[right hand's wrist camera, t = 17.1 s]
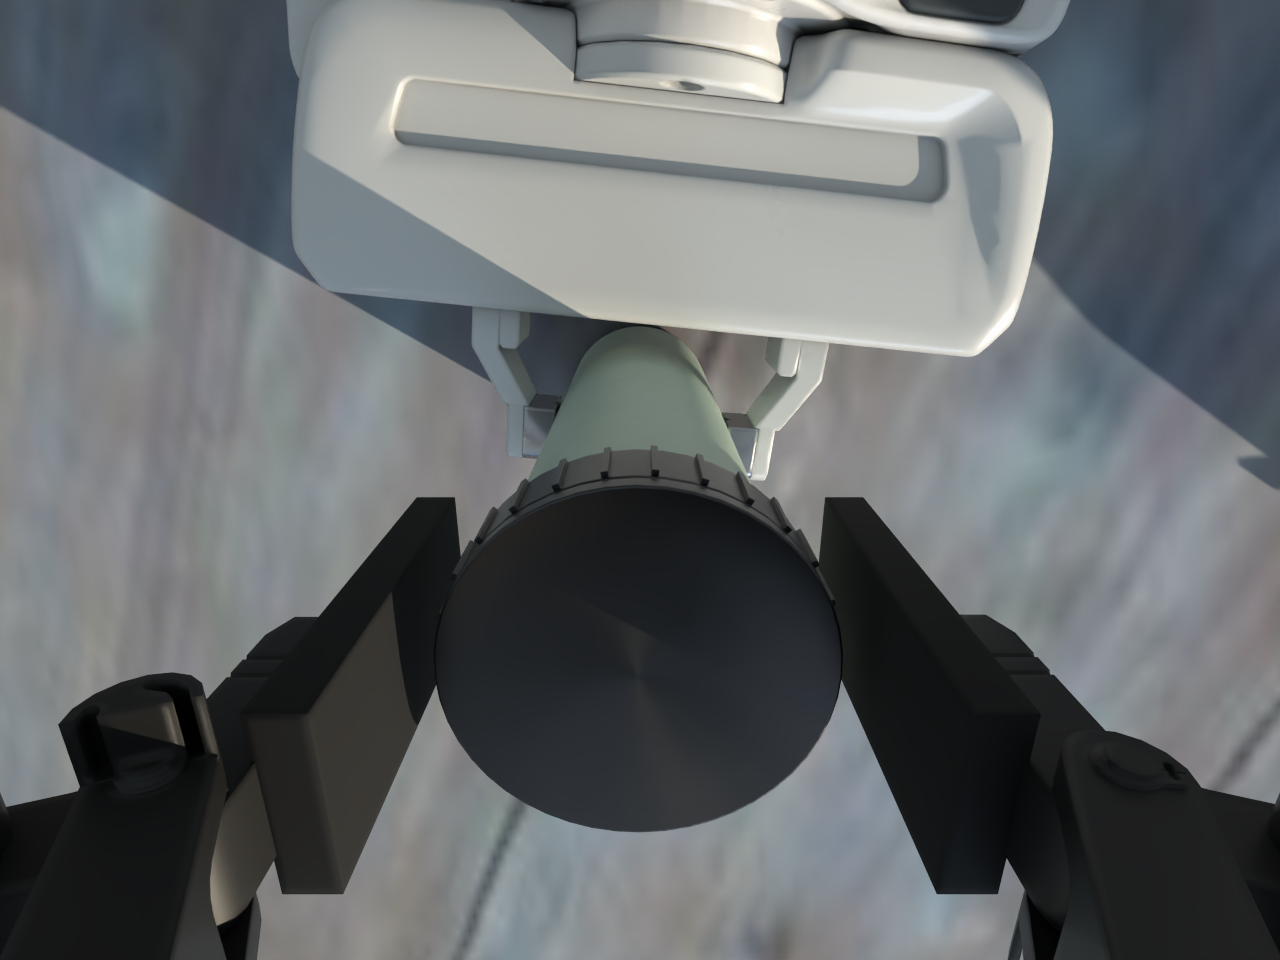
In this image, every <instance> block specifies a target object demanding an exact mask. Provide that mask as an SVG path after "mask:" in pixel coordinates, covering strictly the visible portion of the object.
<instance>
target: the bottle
mask: <svg viewBox="0 0 1280 960" xmlns="http://www.w3.org/2000/svg"><path fill="white" fill-rule="evenodd" d="M651 445H653V446H658V450H661V451H667V452H673V453H678V454H684V455H688V456H692V457H695V456H696V454H697V453H698V454H701V455H703V458H704V461H707V462H711V463H713V464H715V465H717V466H719V467H722V468H724V469H726V470H728V471H730V472H732V473H734V474H737V472H738V471H740V472H742V473H743V474H744V475H745V478H746V480H747V482H748V483H750V484H751V482H750V480H749V477H748V475H747V473H746V470H745V468H744V466H743V463H742V461H741V459H740V456H739V454H738V452H737V449H736V447H735V445H734V442H733V440H732V438H731V435H730V433H729V431H728V428H727V426H726V424H725V421H724V419H723V417H722V415H721V412H720V410H719V408H718V405H717V403H716V401H715V398H714V396H713V394H712V391H711V389H710V387H709V384H708V382H707V380H706V377H705V375H704V373H703V370H702V368H701V366H700V364H699V362H698V360H697V358H696V357H695V355H694V354H693V352H692V351H691V350H690V349H689V348H688V347H687V346H686V345H685V344H684V343H683V342H682V341H681V340H679V339H678V338H677V337H675V336H673V335H672V334H670V333H667V332H665V331H663V330H660V329H656V328H652V327H645V326H635V327H627V328H623V329H619V330H616V331H614V332H611V333H609V334H607V335H606V336H604V337H602V338H601V339H600V340H598V341H597V342H596V343H595V344H594V345H593V346H592V347H591V348H590V349H589V350H588V351H587V352H586V354H585V355H584V356H583V358H582V360H581V362H580V363H579V366H578V368H577V370H576V372H575V375H574V377H573V379H572V382H571V384H570V386H569V388H568V391H567V393H566V395H565V397H564V400H563V402H562V404H561V407H560V409H559V411H558V413H557V416H556V418H555V420H554V422H553V425H552V427H551V429H550V432H549V434H548V436H547V438H546V441H545V443H544V445H543V447H542V450H541V452H540V454H539V457H538V459H537V461H536V463H535V466H534V468H533V470H532V472H531V475H530V477H529V479H528V482H530V481H532V480H533V479H535V478H536V477H538V476H539V475H541V474H543V473H545V472H547V471H549V470H551V469H553V468H555V467H557V466H558V465H559V462H560V460H562V459H564V458H566V459H567V461H568V462H570V461H573V460H576V459H579V458H582V457H585V456H589V455H594V454H599V453H603V452H604V448H606V447H611V451H618V450H632V449H642V450H650V448H651Z"/></svg>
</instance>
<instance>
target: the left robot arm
mask: <svg viewBox="0 0 1280 960" xmlns="http://www.w3.org/2000/svg"><path fill="white" fill-rule="evenodd" d="M286 2H287V19H288V36H289V49H290V55H291V59H292V63H293V66H294V69H295V72H296V75H297V77H298V79H299V86H298V94H297V104H296V115H295V126H294V139H293V156H292V183H291V226H292V241H293V247H294V250H295V252H296V254H297V256H298V258H299V259H300V260H301V262H302V263H303V264H304V266H305V267H306V268H307V270H308V271H309V272H310V274H311V275H312V276H313V278H314V279H315V280H316V281H317V283H318V284H319V285H320V286H321V287H322V288H323V289H325V290H327V291H331V292H338V293H348V294H357V295H367V296H377V297H387V298H396V299H406V300H416V301H426V302H435V303H445V304H455V305H465V306H472V347H473V349H474V351H475V353H476V354H477V356H478V358H479V360H480V362H481V364H482V365H483V367H484V369H485V371H486V373H487V374H488V376H489V378H490V380H491V382H492V384H493V385H494V387H495V389H496V391H497V393H498V394H499V396H500V398H501V400H502V402H503V404H508V412H507V442H506V451H507V456H510V457H517V458H534V459H538V457H539V454H540V452H541V450H542V447H543V445H544V443H545V441H546V438H547V436H548V434H549V432H550V429H551V427H552V425H553V422H554V420H555V418H556V416H557V413H558V411H559V409H560V407H561V396H553V395H544V394H536V393H537V391H536V389H535V387H534V385H533V383H532V381H531V379H530V377H529V375H528V373H527V371H526V369H525V367H524V364H523V362H522V360H521V358H520V356H519V354H518V352H517V350H516V348H517V347H518V346H519V345H520V344H521V343H522V342H523V341H524V340H525V339H526V338H527V337H528V336H529V333H530V315H531V312H533V313H543V314H552V315H562V316H572V317H582V318H592V319H601V320H611V321H621V322H631V323H640V324H650V325H660V326H670V327H679V328H689V329H699V330H709V331H718V332H728V333H738V334H748V335H757V336H767V337H768V343H767V350H766V356H765V360H766V361H767V363H768V364H769V365H770V366H771V367H772V368H773V369H774V370H775V371H776V372H777V373H776V374H775V376H774V377H773V378H772V380H771V381H770V382H769V384H768V385H767V386H766V387H765V389H764V390H763V391H762V393H761V394H760V395H759V397H758V398H757V399H756V401H755V402H754V403H753V405H752V406H751V407H750V408H749V410H748V411H747V412H746V413H747V414H737V413H723V412H722V417H723V419H724V421H725V424H726V426H727V428H728V431H729V433H730V435H731V438H732V440H733V442H734V445H735V447H736V449H737V452H738V454H739V456H740V459H741V461H742V463H743V466H744V468H745V470H746V473H747V475H748V477H749V480H760V481H764V480H765V479H766V476H767V473H768V468H769V462H770V456H771V451H772V445H773V439H774V434H775V431H779V430H780V429H781V428H782V427H783V426H784V424H785V423H786V422H787V421H788V420H789V419H790V417H791V416H792V415H793V414H794V413H795V412H796V410H797V409H798V408H799V407H800V406H801V405H802V403H803V402H804V401H805V400H806V399H807V398H808V396H809V395H810V394H811V393H812V392H813V391H814V389H815V388H816V387H817V386H818V385H819V384H820V382H821V381H822V376H823V371H824V366H825V361H826V356H827V351H828V346H829V343H836V344H845V345H855V346H865V347H875V348H884V349H894V350H904V351H914V352H923V353H933V354H943V355H953V356H963V357H971V356H975V355H977V354H979V353H980V352H981V351H983V350H984V349H985V348H986V347H988V346H989V345H990V344H991V343H992V342H993V341H994V340H995V339H996V338H997V337H998V336H1000V335H1001V334H1002V333H1003V332H1004V331H1005V330H1006V329H1007V328H1008V327H1009V326H1010V324H1011V323H1012V321H1013V319H1014V317H1015V315H1016V312H1017V310H1018V307H1019V304H1020V301H1021V298H1022V294H1023V291H1024V287H1025V284H1026V280H1027V276H1028V272H1029V268H1030V264H1031V260H1032V256H1033V252H1034V248H1035V243H1036V239H1037V234H1038V230H1039V224H1040V219H1041V214H1042V209H1043V204H1044V198H1045V192H1046V186H1047V180H1048V174H1049V167H1050V160H1051V153H1052V141H1053V119H1052V111H1051V105H1050V100H1049V97H1048V94H1047V91H1046V89H1045V87H1044V85H1043V83H1042V81H1041V79H1040V78H1039V77H1038V75H1037V74H1036V73H1035V71H1034V70H1033V69H1032V68H1031V67H1030V66H1028V65H1027V64H1026V63H1025V62H1023V61H1022V60H1020V59H1018V58H1017V57H1018V56H1019V55H1021V54H1023V53H1025V52H1027V51H1028V50H1030V49H1031V48H1033V47H1035V46H1036V45H1038V44H1039V43H1041V42H1042V41H1044V40H1045V39H1047V38H1048V37H1050V36H1051V35H1052V34H1053V33H1054V32H1055V31H1056V30H1057V28H1058V27H1059V25H1060V23H1061V22H1062V20H1063V18H1064V16H1065V14H1066V11H1067V8H1068V5H1069V3H1070V0H286Z"/></svg>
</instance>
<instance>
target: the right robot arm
mask: <svg viewBox="0 0 1280 960" xmlns="http://www.w3.org/2000/svg"><path fill="white" fill-rule="evenodd" d="M460 558H461V556H460V545H459V535H458V525H457V515H456V505H455V497H417V498H416V499H415V500H414V502H413V503H412V504H411V505H410V506H409V508H408V509H407V510H406V511H405V512H404V514H403V515H402V516H401V517H400V519H399V520H398V521H397V522H396V523H395V525H394V526H393V527H392V528H391V530H390V531H389V532H388V533H387V534H386V536H385V537H384V538H383V539H382V540H381V542H380V543H379V544H378V545H377V547H376V548H375V549H374V550H373V551H372V553H371V554H370V555H369V556H368V558H367V559H366V560H365V561H364V562H363V564H362V565H361V566H360V567H359V568H358V570H357V571H356V572H355V573H354V575H353V576H352V577H351V578H350V579H349V581H348V582H347V583H346V584H345V586H344V587H343V588H342V589H341V590H340V592H339V593H338V594H337V595H336V597H335V598H334V599H333V600H332V601H331V603H330V604H329V605H328V606H327V607H326V609H325V610H324V611H323V612H322V614H321V615H320V616H319V617H294V618H292V619H291V620H289V621H287V622H286V623H284V624H283V625H281V626H279V627H278V628H276V629H274V630H273V631H271V632H269V633H268V634H266V635H265V636H264V637H263V638H262V639H261V640H260V642H259V643H258V644H257V645H256V646H255V647H254V648H253V649H252V650H251V651H250V652H249V654H248V655H247V659H246V660H242V661H241V662H240V663H239V665H238V666H237V667H236V668H235V669H234V670H233V671H232V672H231V677H227V678H226V679H225V680H224V681H223V682H222V683H221V684H220V685H219V686H218V687H217V689H216V690H215V691H214V692H213V693H212V694H211V695H210V696H209V697H208V698H207V699H206V697H205V693H204V689H203V685H202V683H201V682H200V681H198V680H197V679H196V678H194V677H193V676H191V675H186V674H179V673H162V674H152V675H146V676H142V677H139V678H135V679H131V680H128V681H124V682H121V683H118V684H116V685H114V686H112V687H109V688H107V689H105V690H103V691H100V692H98V693H96V694H94V695H92V696H91V697H89V698H88V699H86V700H85V701H83V702H82V703H80V704H79V705H77V706H76V707H74V708H73V709H72V710H71V711H70V712H69V713H68V714H67V715H66V717H65V718H64V719H63V720H62V721H61V722H60V723H59V724H58V725H59V728H60V731H61V734H62V737H63V740H64V742H65V745H66V748H67V751H68V754H69V757H70V759H71V762H72V765H73V768H74V771H75V774H76V777H77V779H78V782H79V785H80V788H79V790H78V791H77V792H73V793H69V794H64V795H60V796H55V797H50V798H46V799H41V800H37V801H32V802H27V803H23V804H18V805H14V806H9V807H6V806H5V803H4V801H3V799H2V796H1V794H0V960H257V952H258V944H259V936H260V927H261V914H260V907H259V902H258V898H257V894H256V891H257V889H258V887H259V885H260V884H261V882H262V880H263V878H264V877H265V875H266V873H267V872H268V870H269V868H270V866H271V865H272V863H273V861H274V862H275V866H276V870H277V874H278V878H279V883H280V887H281V891H282V894H343V893H344V891H345V889H346V886H347V884H348V882H349V880H350V877H351V875H352V873H353V871H354V868H355V866H356V864H357V862H358V859H359V857H360V855H361V853H362V850H363V848H364V846H365V844H366V841H367V839H368V837H369V835H370V832H371V830H372V828H373V826H374V823H375V821H376V819H377V817H378V814H379V812H380V810H381V808H382V805H383V803H384V801H385V799H386V796H387V794H388V792H389V790H390V787H391V785H392V783H393V781H394V778H395V776H396V774H397V772H398V769H399V767H400V765H401V763H402V760H403V758H404V756H405V754H406V751H407V749H408V747H409V745H410V742H411V740H412V738H413V736H414V733H415V731H416V729H417V727H418V724H419V722H420V720H421V718H422V715H423V713H424V711H425V709H426V706H427V704H428V702H429V700H430V697H431V695H432V693H433V691H434V688H435V686H436V680H435V672H434V645H435V635H436V629H437V625H438V621H439V618H438V614H439V611H440V609H441V607H442V605H443V604H444V602H445V600H446V598H447V596H448V593H449V591H450V589H451V587H452V585H453V583H454V581H455V580H453V579H451V578H450V577H451V575H452V573H453V571H454V569H455V567H456V566H457V564H458V562H459V560H460ZM819 564H820V566H818V568H819V570H820V572H821V574H822V576H823V578H824V580H825V582H826V584H827V586H828V587H829V589H830V591H831V593H832V595H833V597H834V599H835V602H836V605H834V609H835V612H836V616H837V619H838V623H839V626H840V631H841V639H842V647H843V668H842V678H841V679H842V682H843V684H844V686H845V688H846V691H847V693H848V695H849V697H850V700H851V702H852V704H853V706H854V709H855V711H856V713H857V715H858V718H859V720H860V722H861V724H862V727H863V729H864V731H865V733H866V736H867V738H868V740H869V742H870V745H871V747H872V749H873V751H874V754H875V756H876V758H877V760H878V763H879V765H880V767H881V769H882V772H883V774H884V776H885V778H886V781H887V783H888V785H889V787H890V790H891V792H892V794H893V796H894V799H895V801H896V803H897V805H898V808H899V810H900V812H901V814H902V817H903V819H904V821H905V823H906V826H907V828H908V830H909V832H910V835H911V837H912V839H913V841H914V844H915V846H916V848H917V850H918V853H919V855H920V857H921V859H922V862H923V864H924V866H925V868H926V871H927V873H928V875H929V877H930V880H931V882H932V884H933V886H934V889H935V891H936V893H937V894H998V891H999V887H1000V883H1001V878H1002V874H1003V870H1004V866H1005V862H1006V858H1007V859H1008V861H1009V863H1010V864H1011V866H1012V868H1013V870H1014V871H1015V873H1016V875H1017V876H1018V878H1019V880H1020V882H1021V883H1022V885H1023V887H1024V889H1025V890H1024V894H1023V898H1022V902H1021V906H1020V910H1019V914H1018V918H1017V921H1016V925H1015V929H1014V933H1013V937H1012V941H1011V945H1010V949H1009V955H1008V960H1020V956H1021V952H1022V951H1023V959H1024V960H1280V794H1279V796H1278V799H1277V801H1276V804H1272V803H1267V802H1263V801H1258V800H1253V799H1249V798H1244V797H1240V796H1235V795H1230V794H1226V793H1221V792H1217V791H1212V790H1208V789H1204V788H1201V787H1200V785H1199V784H1198V782H1197V781H1196V780H1195V778H1194V777H1193V776H1192V775H1191V773H1190V772H1189V771H1188V769H1187V768H1185V767H1184V766H1183V765H1182V764H1180V763H1179V762H1178V761H1176V760H1175V759H1174V758H1172V757H1171V756H1170V755H1169V754H1167V753H1166V752H1164V751H1162V750H1160V749H1158V748H1156V747H1154V746H1152V745H1150V744H1148V743H1146V742H1144V741H1142V740H1139V739H1136V738H1133V737H1130V736H1127V735H1123V734H1120V733H1117V732H1111V731H1105V730H1104V729H1103V728H1102V727H1101V725H1100V724H1099V723H1098V722H1097V721H1096V720H1095V719H1094V718H1093V717H1092V716H1091V715H1090V714H1089V712H1088V711H1087V710H1086V709H1085V708H1084V707H1083V706H1082V705H1081V704H1080V703H1079V702H1078V701H1077V699H1076V698H1075V697H1074V696H1073V695H1072V694H1071V693H1070V692H1069V691H1068V690H1067V689H1066V687H1065V686H1064V685H1063V684H1062V683H1061V682H1060V681H1059V680H1058V679H1057V678H1056V677H1055V676H1054V675H1050V670H1049V669H1048V668H1047V667H1046V666H1045V665H1044V664H1043V663H1042V661H1041V660H1040V659H1039V658H1038V657H1034V653H1033V652H1032V651H1031V649H1030V648H1029V647H1028V646H1027V645H1026V644H1025V643H1024V642H1023V641H1022V640H1021V639H1020V638H1019V636H1018V635H1017V634H1016V633H1015V632H1013V631H1012V630H1010V629H1008V628H1007V627H1005V626H1003V625H1002V624H1000V623H998V622H997V621H995V620H993V619H992V618H990V617H988V616H987V615H959V614H958V612H957V611H956V610H955V609H954V607H953V606H952V605H951V604H950V603H949V601H948V600H947V599H946V598H945V596H944V595H943V594H942V593H941V592H940V590H939V589H938V588H937V587H936V586H935V584H934V583H933V582H932V581H931V579H930V578H929V577H928V576H927V575H926V573H925V572H924V571H923V570H922V568H921V567H920V566H919V565H918V564H917V562H916V561H915V560H914V559H913V558H912V556H911V555H910V554H909V553H908V551H907V550H906V549H905V548H904V547H903V545H902V544H901V543H900V542H899V540H898V539H897V538H896V537H895V536H894V534H893V533H892V532H891V531H890V530H889V528H888V527H887V526H886V525H885V523H884V522H883V521H882V520H881V519H880V517H879V516H878V515H877V514H876V512H875V511H874V510H873V509H872V508H871V506H870V505H869V504H868V503H867V502H866V500H865V499H864V498H863V497H825V505H824V515H823V525H822V535H821V546H820V556H819Z"/></svg>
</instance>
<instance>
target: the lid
mask: <svg viewBox="0 0 1280 960" xmlns="http://www.w3.org/2000/svg"><path fill="white" fill-rule="evenodd" d="M818 566H820V564H819V562H818V561H817V559H816V557H815V555H814V553H813V551H812V549H811V547H810V545H809V544H808V542H807V540H806V538H805V536H804V534H803V532H802V531H801V529H799V530H797V531H795V529H794V528H793V526H792V525H791V523H790V522H789V520H788V519H787V518H786V516H785V514H784V512H783V510H782V508H781V506H780V504H779V502H778V500H777V499H776V498H775V497H773V498H772V499H771V500H770V499H769V498H767V497H766V496H765V495H764V494H763V493H762V492H760V491H759V490H758V489H757V488H756V487H755V486H753V485H752V484H750V483H748V482H747V480H746V478H745V475H744V474H743V473H742V472H740V471H738V472H737V474H734V473H732V472H730V471H728V470H726V469H724V468H722V467H719V466H717V465H715V464H713V463H711V462H707V461H704V458H703V455H701V454H698V453H697V454H696V456H695V457H692V456H688V455H684V454H678V453H673V452H667V451H661V450H658V446H653V445H651V448H650V450H642V449H632V450H618V451H611V447H606V448H604V452H603V453H599V454H594V455H589V456H585V457H582V458H579V459H576V460H573V461H570V462H568V461H567V459H566V458H564V459H562V460H560V462H559V465H558V466H557V467H555V468H553V469H551V470H549V471H547V472H545V473H543V474H541V475H539V476H538V477H536V478H535V479H533V480H532V481H530V482H528V480H527V479H524V480H523V481H522V482H521V483H520V485H519V487H518V490H517V491H516V492H515V493H514V494H513V495H512V496H511V497H510V498H508V499H507V500H506V501H505V502H504V503H503V504H502V505H501V506H500V507H499V508H498V510H497V509H496V508H495V507H493V508H492V509H491V510H490V511H489V513H488V515H487V517H486V519H485V521H484V523H483V525H482V527H481V528H480V530H479V532H478V534H477V536H476V538H475V540H474V542H473V541H471V540H470V541H469V543H468V545H467V547H466V549H465V551H464V553H463V554H462V556H461V558H460V560H459V562H458V564H457V566H456V567H455V569H454V571H453V573H452V575H451V577H450V578H451V579H453V580H455V581H454V583H453V585H452V587H451V589H450V591H449V593H448V596H447V598H446V600H445V602H444V604H443V605H442V607H441V609H440V611H439V614H438V618H439V621H438V625H437V629H436V635H435V645H434V672H435V680H436V685H437V690H438V695H439V699H440V702H441V705H442V708H443V711H444V713H445V716H446V719H447V721H448V723H449V725H450V727H451V729H452V731H453V732H454V734H455V736H456V738H457V740H458V741H459V743H460V744H461V746H462V747H463V748H464V750H465V751H466V752H467V754H468V755H469V756H470V758H471V759H472V760H473V761H474V762H475V763H476V764H477V765H478V767H479V768H480V769H481V770H482V771H483V772H484V773H485V774H486V775H487V776H488V777H489V778H491V779H492V780H493V781H494V782H495V783H497V784H498V785H499V786H500V787H502V788H503V789H504V790H505V791H507V792H508V793H510V794H511V795H513V796H515V797H516V798H518V799H519V800H521V801H522V802H524V803H526V804H528V805H530V806H532V807H534V808H536V809H538V810H540V811H542V812H544V813H546V814H549V815H551V816H554V817H557V818H560V819H562V820H565V821H568V822H571V823H575V824H579V825H583V826H587V827H591V828H597V829H604V830H611V831H623V832H653V831H667V830H673V829H679V828H686V827H690V826H694V825H698V824H702V823H705V822H709V821H712V820H715V819H718V818H720V817H723V816H726V815H728V814H731V813H733V812H735V811H737V810H739V809H741V808H743V807H745V806H747V805H749V804H751V803H753V802H755V801H756V800H758V799H759V798H761V797H762V796H764V795H765V794H767V793H768V792H770V791H771V790H773V789H774V788H776V787H777V786H778V785H779V784H780V783H781V782H783V781H784V780H785V779H786V778H787V777H789V776H790V775H791V774H792V773H793V772H794V771H795V770H796V769H797V768H798V766H799V765H800V764H801V763H802V762H803V761H804V760H805V759H806V758H807V757H808V755H809V754H810V752H811V751H812V749H813V748H814V747H815V745H816V744H817V742H818V741H819V740H820V738H821V736H822V734H823V732H824V730H825V728H826V726H827V724H828V722H829V721H830V719H831V716H832V713H833V710H834V707H835V704H836V701H837V698H838V694H839V689H840V684H841V678H842V668H843V647H842V639H841V631H840V626H839V623H838V619H837V616H836V612H835V609H834V605H836V602H835V599H834V597H833V595H832V593H831V591H830V589H829V587H828V586H827V584H826V582H825V580H824V578H823V576H822V574H821V572H820V570H819V568H818Z"/></svg>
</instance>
